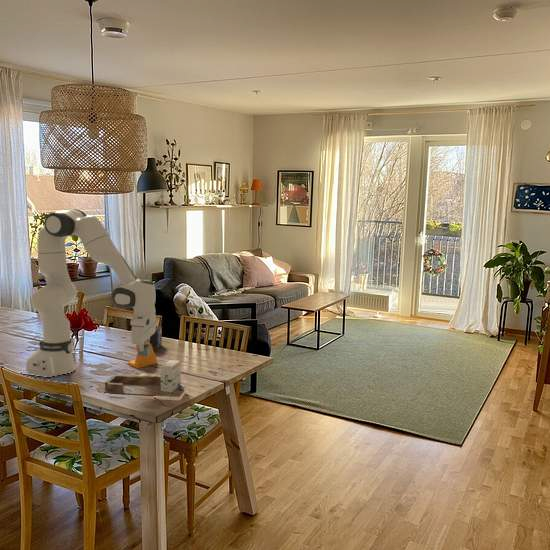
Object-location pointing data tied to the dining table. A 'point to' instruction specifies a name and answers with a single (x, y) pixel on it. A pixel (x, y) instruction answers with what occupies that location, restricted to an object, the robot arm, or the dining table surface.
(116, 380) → the open box
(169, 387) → the ink box
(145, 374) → the tan square plate
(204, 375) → the dining table surface
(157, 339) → the small box
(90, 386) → the dining table surface
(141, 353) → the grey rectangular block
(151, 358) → the bracket
